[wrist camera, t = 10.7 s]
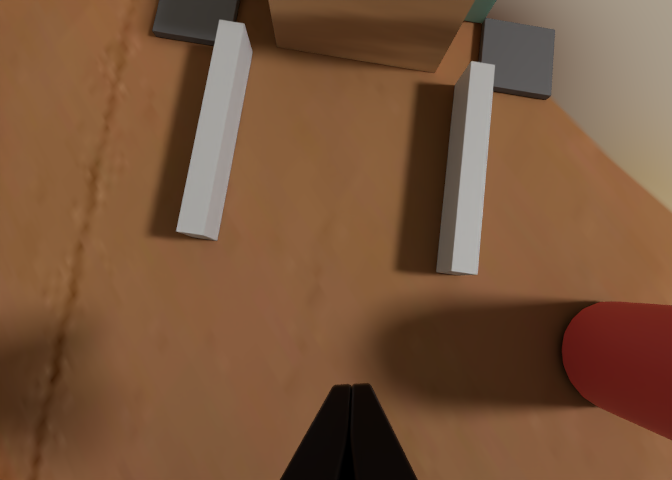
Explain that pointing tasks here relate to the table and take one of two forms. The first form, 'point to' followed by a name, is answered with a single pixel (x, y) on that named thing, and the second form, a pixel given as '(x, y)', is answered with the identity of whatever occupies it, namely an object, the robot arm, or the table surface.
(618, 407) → the beer can
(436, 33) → the step block
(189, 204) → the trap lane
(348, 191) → the table surface
